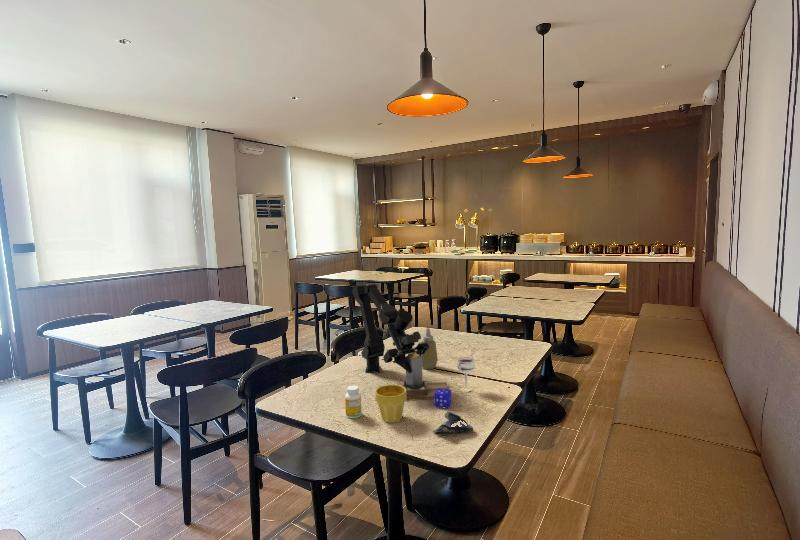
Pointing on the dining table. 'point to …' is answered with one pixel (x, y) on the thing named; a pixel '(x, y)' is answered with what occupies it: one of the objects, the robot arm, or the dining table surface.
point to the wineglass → (465, 366)
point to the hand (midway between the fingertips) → (415, 371)
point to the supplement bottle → (353, 402)
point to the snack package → (451, 420)
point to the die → (442, 398)
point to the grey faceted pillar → (414, 371)
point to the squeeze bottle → (429, 352)
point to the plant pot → (391, 402)
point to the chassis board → (424, 390)
